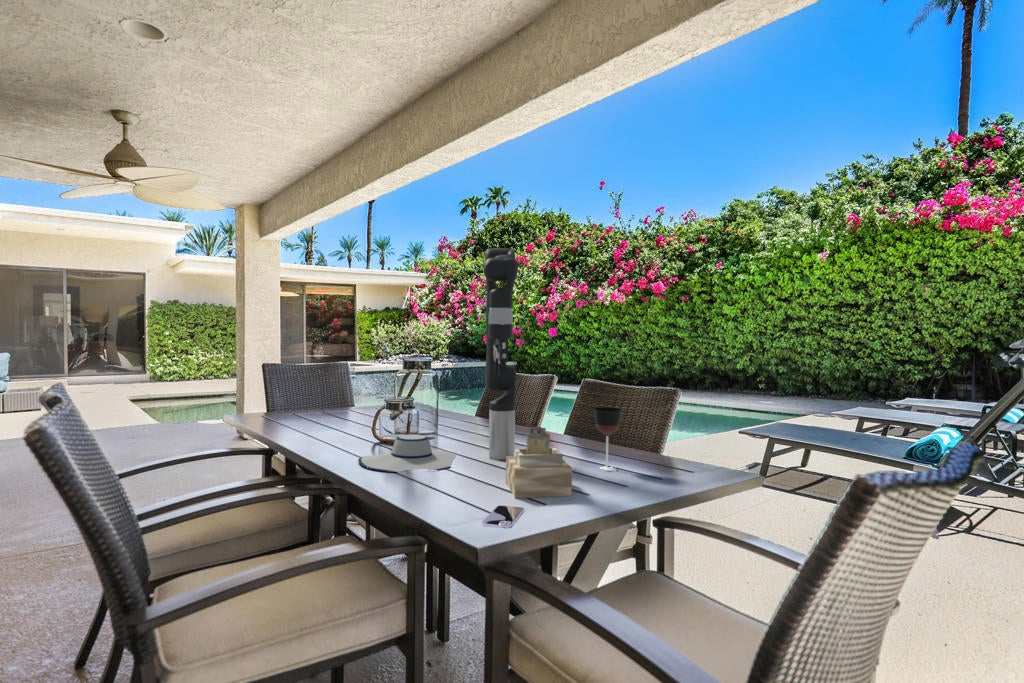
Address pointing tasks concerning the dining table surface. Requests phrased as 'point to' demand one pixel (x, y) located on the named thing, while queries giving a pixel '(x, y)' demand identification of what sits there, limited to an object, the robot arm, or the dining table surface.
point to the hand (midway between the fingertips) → (500, 375)
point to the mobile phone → (503, 516)
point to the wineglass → (607, 425)
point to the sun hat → (410, 456)
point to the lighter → (537, 441)
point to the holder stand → (538, 474)
